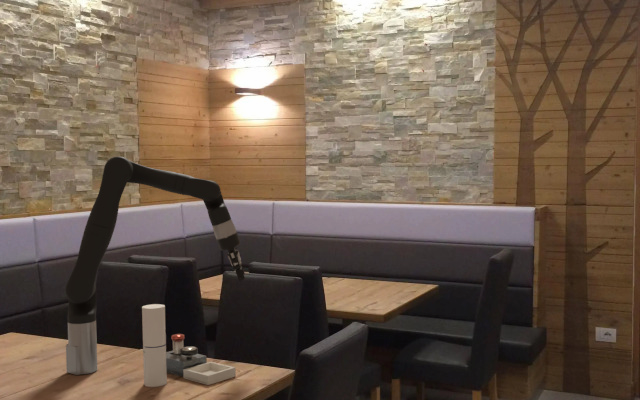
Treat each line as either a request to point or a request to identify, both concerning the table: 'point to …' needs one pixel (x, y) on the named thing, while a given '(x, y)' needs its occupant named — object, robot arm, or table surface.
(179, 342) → the pin
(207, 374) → the dish
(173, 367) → the dark grey block
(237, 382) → the table surface
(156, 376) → the cylindrical container
